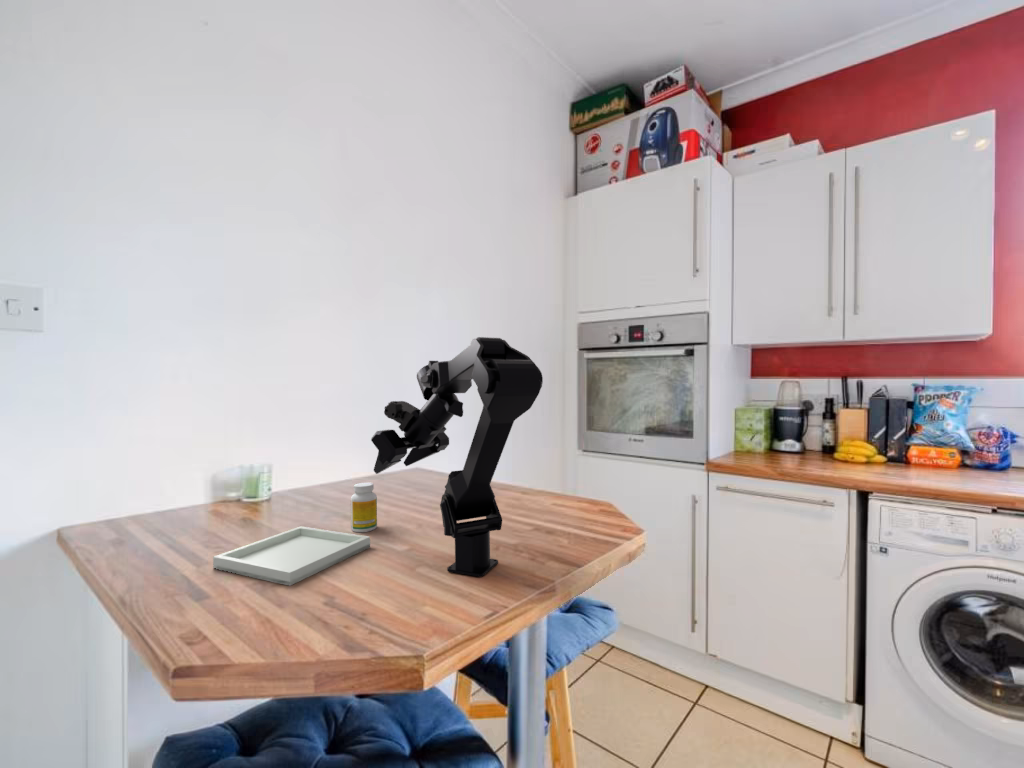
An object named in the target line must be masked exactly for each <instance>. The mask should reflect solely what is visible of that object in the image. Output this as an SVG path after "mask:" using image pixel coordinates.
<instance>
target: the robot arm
mask: <svg viewBox="0 0 1024 768" xmlns="http://www.w3.org/2000/svg"><path fill="white" fill-rule="evenodd" d="M543 379H544V378H543V373H542V371H541V370H540V367H538V365H536V363H535V362H534V361H533V360H532V359H531V357H530V356H528V355H527V354H526V353H523V352H521V351H519V350H517V349H516V348H514V347H512V346H511V345H510V344H509V343H508V342H507V341H506V340H505V339H503V338H501V337H488V336H487V337H486V336H485V337H484V336H481V337H480V336H478V337H476V338H472V340H471V341H470V345H467V347H466V348H464V349H463V350H462V351H461V352H460V353H459V354H457V355H455V357H453V358H452V359H450V360H444V361H439V360H428V363H427V365H424V366H422V367H421V368H420V369H419V370H418V372H416V380H417V383H418V385H419V388H420V391H421V395H422V397H423V399H424V400H425V401H426V403H425V404H423V406H422V407H421V409H419V408H418V407H416V406H414V405H412V404H411V403H409V402H407V401H403V400H397V401H396V400H395V401H394V400H393V401H390V402H388V403H387V404H386V406H384V411H383V413H384V415H385V416H386V417H387V418H388V419H391V420H393V421H395V422H396V423H398V424H399V425H398V428H399V430H400V431H401V432H403V437H402V436H401V437H400V434H399V435H398V433H397V432H396V430H395V429H383V430H376V432H375V433H374V434H373V435H372V437H371V439H370V441H371V442H372V444H373V445H374V447H375V448H376V449H377V450H378V453H377V457H376V460H375V464H374V467H373V472H374V473H375V474H376V475H377V474H380V473H382V472H384V471H386V470H387V469H389V468H391V467H393V466H394V465H396V464H398V463H400V462H402V459H404V458H405V457H406V458H405V459H404V461H403V464H404V465H405V467H408V466H410V465H413V464H415V463H417V462H419V461H421V460H423V459H426V458H429V457H431V456H433V455H435V454H438V453H440V452H441V451H445V450H446V448H447V447H448V446H450V437H449V436H448V435H447V434H446V433H445V432H446V430H447V428H446V425H447V423H449V421H450V420H452V419H451V418H452V417H454V416H457V417H459V418H462V417H463V416H464V408H463V407H464V402H462V401H460V400H459V398H458V396H457V395H456V394H466V393H467V391H469V389H471V387H473V386H472V385H473V382H474V383H475V385H476V387H477V389H476V390H477V392H478V395H479V397H480V400H481V402H482V404H483V406H482V411H481V412H480V416H479V419H478V422H477V425H476V428H475V432H474V433H473V434H474V435H473V438H472V440H471V443H470V447H469V450H468V454H467V456H466V459H465V463H464V466H463V469H462V470H451V472H450V473H449V474H448V477H447V478H448V479H447V482H446V484H445V485H444V488H445V490H444V493H442V496H441V498H440V499H441V501H440V504H439V507H440V512H441V518H442V526H443V529H444V530H443V531H444V532H443V535H444V536H447V537H451V538H453V539H454V562H453V563H452V564H450V565H449V566H447V567H446V568H447V569H446V571H447V572H450V573H455V574H461V575H467V576H472V577H473V576H474V577H477V578H478V577H479V578H480V577H481V578H482V577H483V576H485V575H486V574H487V573H488V572H489V571H491V570H492V569H493V568H494V567H496V565H498V563H499V560H498V559H495V558H491V536H490V535H491V534H490V533H491V532H493V531H501V530H502V525H503V518H502V515H501V512H500V508H499V506H498V503H497V502H496V495H495V493H494V491H493V489H492V485H491V483H492V479H493V478H494V474H495V473H496V469H497V467H498V465H499V462H500V460H501V459H500V458H501V456H502V453H503V452H504V449H505V446H506V444H507V441H508V438H509V435H510V434H511V430H512V427H513V425H514V422H515V420H517V419H518V418H519V417H521V416H522V415H523V414H525V413H526V412H527V411H529V410H530V409H531V408H532V406H533V405H534V403H535V402H536V400H537V398H538V396H539V394H540V392H541V389H542V387H543ZM472 380H473V381H472ZM409 449H411V450H410V451H409V452H408V450H409ZM479 518H482V519H479ZM472 519H473V520H472ZM474 519H475V520H474ZM465 520H468V521H465ZM459 521H460V522H459ZM461 521H462V522H461Z"/></svg>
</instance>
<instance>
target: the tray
mask: <svg viewBox="0 0 1024 768" xmlns="http://www.w3.org/2000/svg"><path fill="white" fill-rule="evenodd" d="M369 548H371V536H367V535H361V534H354V533H350V532H348V533H347V532H341V531H337V530H336V531H334V530H327V529H323V528H314V527H308V526H301V525H300V526H298V527H294V528H291V529H289V530H286V531H283V532H280V533H277V534H275V535H271V536H268V537H266V538H262V539H260V540H257V541H255V542H251V543H249V544H247V545H243V546H240V547H238V548H237V547H236V548H235V549H232V550H229V551H226V552H222V553H220V554H217V555H214V556H213V558H212V565H213V566H212V569H213V568H216V569H215V570H217V569H219V571H222V570H224V571H223V572H226V571H228V572H227V573H231V572H232V573H231V574H235V573H236V575H240V576H244V577H245V576H246V577H248V576H249V578H252V579H253V578H254V579H258V580H263V581H268V582H271V583H275V584H281V585H285V586H292V585H294V584H296V583H298V582H300V581H303V580H305V579H307V578H309V577H311V576H313V575H315V574H317V573H319V572H321V571H323V570H326V569H328V568H330V567H331V566H334V565H336V564H338V563H340V562H342V561H344V560H346V559H349V558H350V557H353V556H354V555H357V554H360V553H361V552H364V551H366V550H367V549H369Z"/></svg>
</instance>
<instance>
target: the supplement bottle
mask: <svg viewBox="0 0 1024 768" xmlns="http://www.w3.org/2000/svg"><path fill="white" fill-rule="evenodd" d="M374 489H375V488H374V483H373V482H366V481H365V482H359V483H356V484H354V485H353V492H354V493H353V494H352V495H351V497H350V530H351V531H352V532H354V533H367V532H371V531H374V530H375V529H377V527H378V506H377V503H378V502H377V501H378V497H377V494H376V493H375V492H374Z"/></svg>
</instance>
